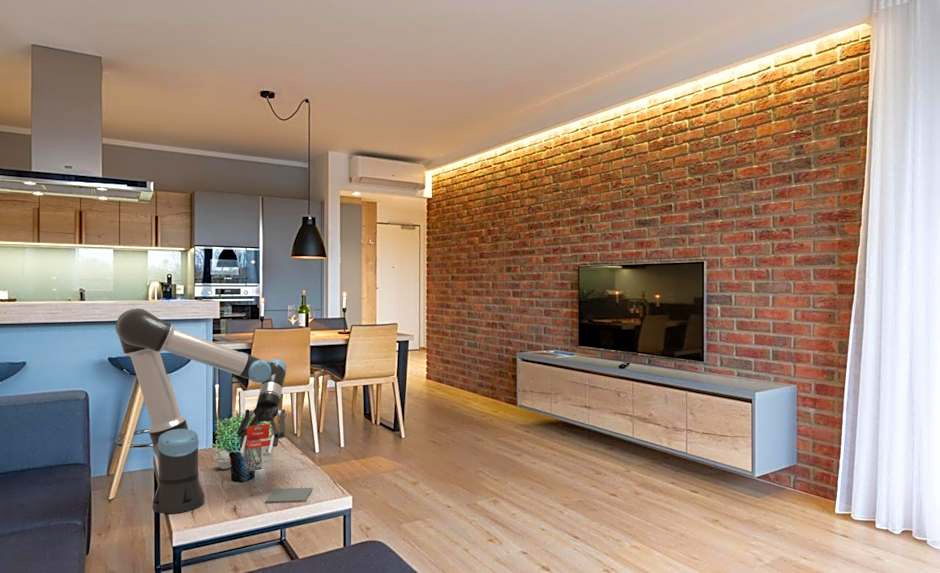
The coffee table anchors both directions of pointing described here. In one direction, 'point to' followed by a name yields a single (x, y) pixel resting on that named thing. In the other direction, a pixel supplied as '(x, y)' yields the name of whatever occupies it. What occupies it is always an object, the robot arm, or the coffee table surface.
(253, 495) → the coffee table surface
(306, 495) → the mat
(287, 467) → the coffee table surface
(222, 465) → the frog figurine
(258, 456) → the ink box
